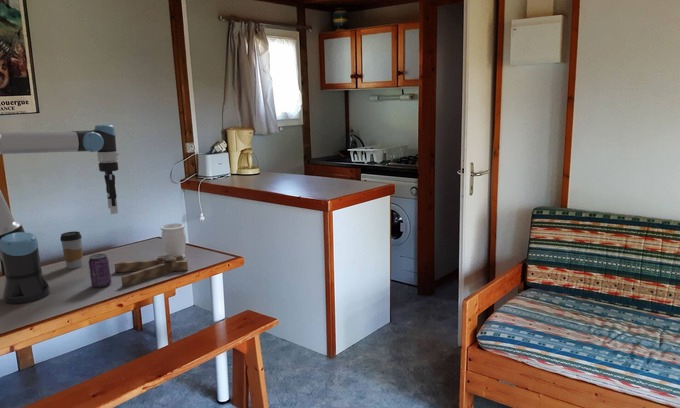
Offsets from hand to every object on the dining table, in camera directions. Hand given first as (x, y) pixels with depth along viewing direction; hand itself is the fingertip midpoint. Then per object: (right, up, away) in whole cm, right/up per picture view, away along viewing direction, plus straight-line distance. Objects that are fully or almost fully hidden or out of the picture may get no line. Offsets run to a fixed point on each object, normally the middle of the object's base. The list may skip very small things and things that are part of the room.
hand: (113, 210), depth 227 cm
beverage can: (+4, -29, -20) cm, 36 cm away
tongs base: (+21, -26, -10) cm, 35 cm away
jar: (+23, -22, +12) cm, 34 cm away
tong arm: (+19, -25, -5) cm, 32 cm away
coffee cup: (-18, -25, +4) cm, 31 cm away
